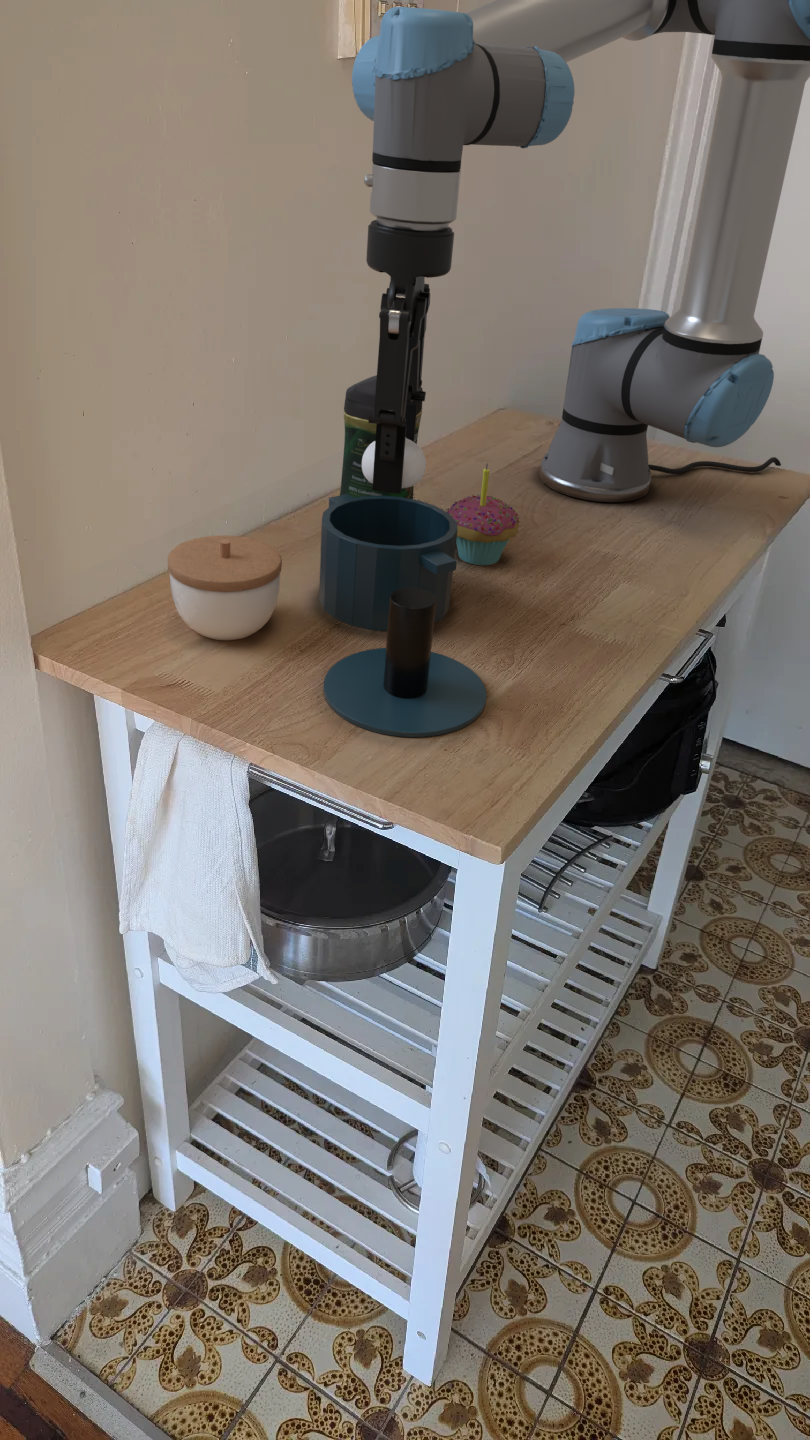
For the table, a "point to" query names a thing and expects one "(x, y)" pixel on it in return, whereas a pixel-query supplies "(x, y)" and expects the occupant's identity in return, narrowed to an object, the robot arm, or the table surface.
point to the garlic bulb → (411, 467)
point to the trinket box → (225, 584)
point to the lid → (406, 678)
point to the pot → (383, 556)
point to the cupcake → (483, 526)
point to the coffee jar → (364, 439)
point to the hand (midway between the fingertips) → (392, 477)
